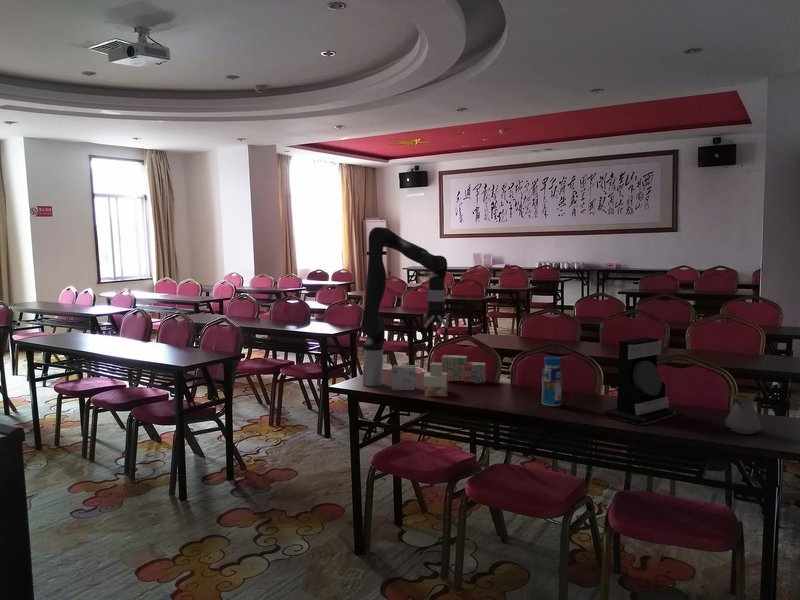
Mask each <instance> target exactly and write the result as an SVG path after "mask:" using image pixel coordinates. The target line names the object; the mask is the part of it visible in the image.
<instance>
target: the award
mask: <svg viewBox="0 0 800 600" xmlns="http://www.w3.org/2000/svg"><path fill="white" fill-rule="evenodd" d="M618 343H619V345H618V367H617V370H618V373H617V391H616V392H617V394H616V395H617V397H616V400H617V401H616V407H613V408H610V409H607V410H604V411H603V412H601V416H602V415H604V416H608V417H612V418H615V417H616V419H618V418H619V419H620V420H621V419H622V420H627V422H631V423H635V424H641V423H646V422H649V421H652V420H656V419H659V418H662V417H665V416H668V415H671V414H672V413H675V412H678V411H680V410H679V409H678V408H675V407H672V406H670V402H669V397H668V396H666V384H665V383H664V382H663V381H662V379H661V374H660V373H659V370H658V366H657V365H658V355H662V343H663V342H662V340H660V338H656V337H655V338H654V337H647V336H644V337H638V338H637V337H636V338H628V339H623V340H619V341H618ZM604 416H603V417H604Z"/></svg>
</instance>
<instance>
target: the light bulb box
mask: <svg viewBox="0 0 800 600" xmlns="http://www.w3.org/2000/svg"><path fill="white" fill-rule="evenodd" d="M415 389H416V365H414V364H413V365H412V364H409V365H408V364H393V366H392V367H391V390H392V391H415Z"/></svg>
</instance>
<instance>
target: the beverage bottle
mask: <svg viewBox="0 0 800 600" xmlns="http://www.w3.org/2000/svg"><path fill="white" fill-rule="evenodd" d="M543 360H544V361H543V362H544V363H543V364H544V368H543V370H542V372H541V373H542V376H541V382H542V383H541V384H542V385H541V386H542V387H541V388H542V389H541V404H543V405H545V406H549V407H558V406H561V405H562V389H563V388H562V387H563V386H562V384H563V378H562V376H563V371H562V370H561V368H560V367H561V365H562V364H561V362H562V357H559V356H556V355H555V356H553V355H549V356H545V357H544V359H543Z"/></svg>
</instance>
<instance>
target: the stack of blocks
mask: <svg viewBox="0 0 800 600" xmlns="http://www.w3.org/2000/svg"><path fill="white" fill-rule="evenodd" d="M468 358H469V357H468V355H458V354H457V355H453V354H452V355H450V354H449V355H448V354H444V355H442V356H441V359H440V360H441V362H440V363H442V373H447V382H451V381H464V382H463V383H467V382H474V383H473V384H484V383H486V369H487V367H486V362H477V361H476V362H475V361H473V362H472V361H468Z"/></svg>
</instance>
